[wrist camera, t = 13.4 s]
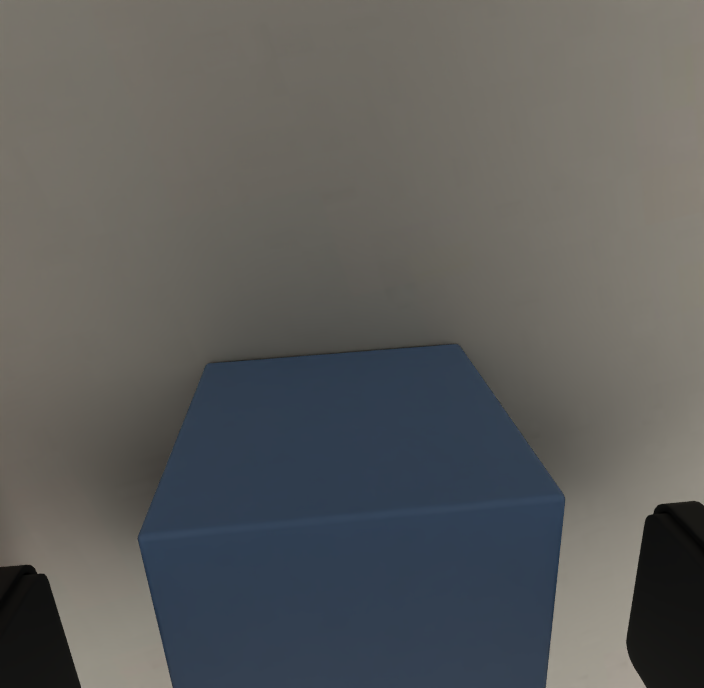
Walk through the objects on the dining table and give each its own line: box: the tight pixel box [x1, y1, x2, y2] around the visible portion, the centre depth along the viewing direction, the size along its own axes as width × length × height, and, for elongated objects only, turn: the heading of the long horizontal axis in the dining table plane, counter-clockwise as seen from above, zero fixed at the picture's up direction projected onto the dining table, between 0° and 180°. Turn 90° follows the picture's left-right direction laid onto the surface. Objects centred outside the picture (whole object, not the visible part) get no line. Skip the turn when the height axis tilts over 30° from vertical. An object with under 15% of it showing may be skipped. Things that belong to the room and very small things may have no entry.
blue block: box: [138, 344, 565, 688], centre depth 10 cm, size 5×5×5 cm
